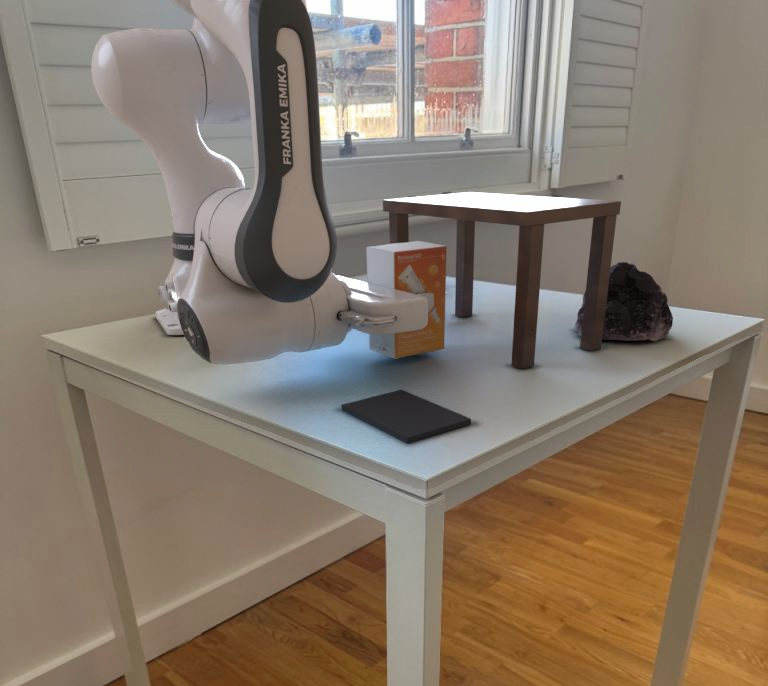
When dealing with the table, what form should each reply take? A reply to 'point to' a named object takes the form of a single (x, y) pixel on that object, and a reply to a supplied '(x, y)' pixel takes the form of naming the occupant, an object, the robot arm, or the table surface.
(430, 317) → the small box
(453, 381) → the table surface
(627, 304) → the crystal cluster
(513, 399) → the table surface
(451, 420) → the mat
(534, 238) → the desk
